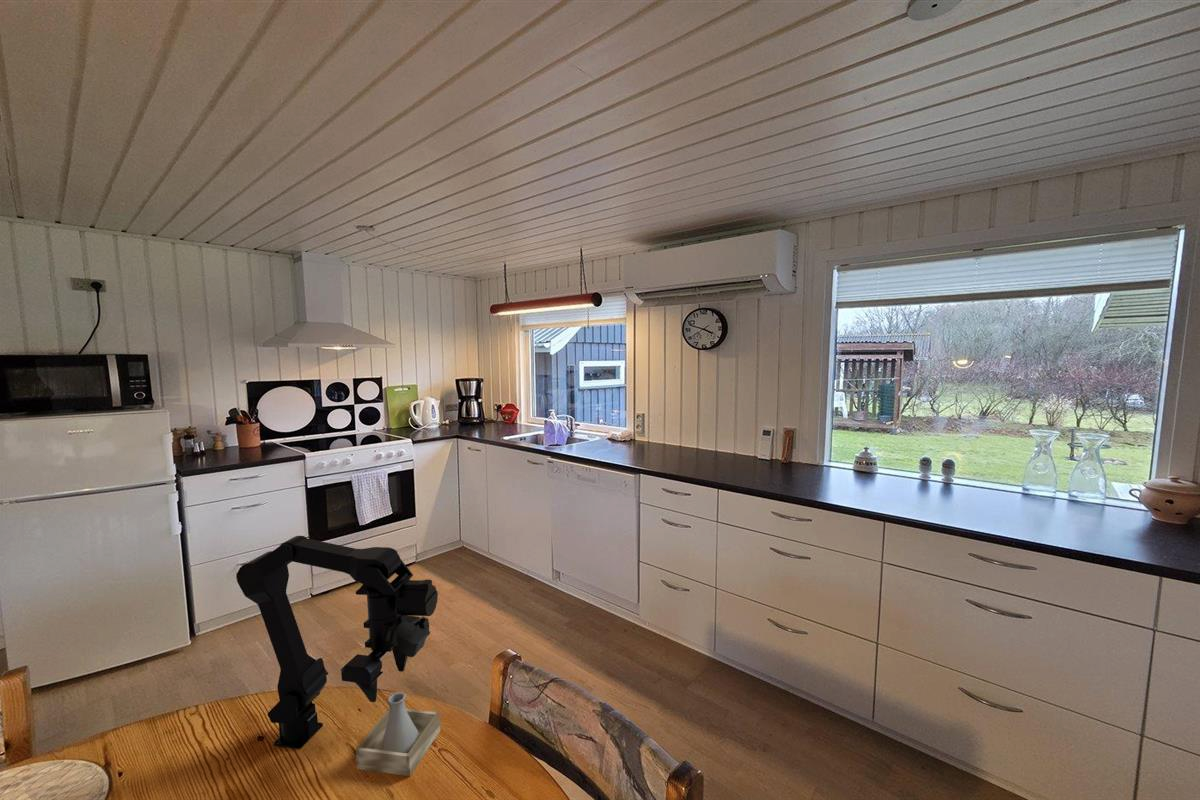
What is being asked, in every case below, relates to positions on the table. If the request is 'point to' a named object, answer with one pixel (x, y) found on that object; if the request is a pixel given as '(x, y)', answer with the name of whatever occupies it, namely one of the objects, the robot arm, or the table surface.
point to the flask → (399, 727)
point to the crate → (394, 761)
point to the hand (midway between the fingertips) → (387, 685)
